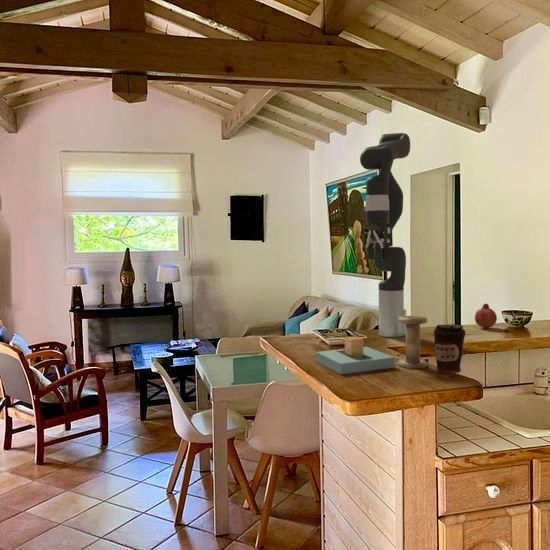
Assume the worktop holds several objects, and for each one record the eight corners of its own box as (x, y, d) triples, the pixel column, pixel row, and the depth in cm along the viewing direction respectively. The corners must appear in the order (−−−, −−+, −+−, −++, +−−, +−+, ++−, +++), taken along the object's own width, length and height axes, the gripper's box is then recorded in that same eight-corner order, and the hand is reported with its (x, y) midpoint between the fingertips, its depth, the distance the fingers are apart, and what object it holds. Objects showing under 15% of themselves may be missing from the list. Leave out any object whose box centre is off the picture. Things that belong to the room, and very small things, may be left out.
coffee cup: (460, 377, 145) (461, 329, 144) (429, 373, 149) (429, 327, 148) (467, 369, 152) (468, 324, 151) (438, 366, 156) (438, 322, 155)
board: (366, 355, 171) (366, 346, 171) (394, 367, 156) (394, 357, 156) (316, 361, 165) (316, 352, 165) (340, 374, 150) (340, 363, 150)
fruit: (470, 327, 215) (470, 302, 214) (488, 326, 217) (488, 301, 216) (482, 331, 207) (483, 305, 207) (501, 329, 209) (501, 304, 209)
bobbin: (416, 360, 163) (416, 315, 162) (432, 366, 156) (432, 319, 155) (393, 363, 160) (393, 317, 159) (409, 369, 153) (409, 321, 152)
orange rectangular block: (356, 362, 163) (356, 336, 162) (363, 365, 159) (363, 338, 158) (345, 363, 161) (344, 337, 161) (351, 367, 158) (351, 340, 157)
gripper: (399, 208, 169) (399, 260, 170) (375, 210, 182) (375, 258, 184) (378, 208, 166) (379, 261, 168) (356, 210, 180) (356, 259, 181)
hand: (377, 259), depth 176 cm, fingers open, 8 cm apart
